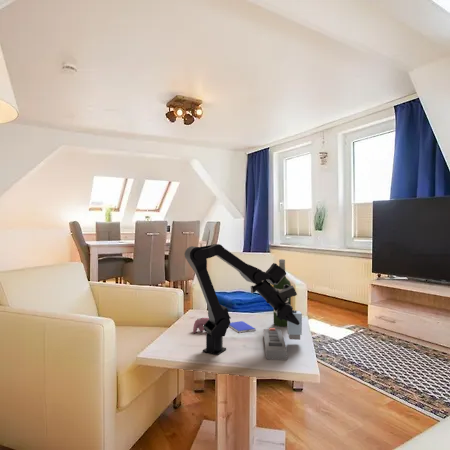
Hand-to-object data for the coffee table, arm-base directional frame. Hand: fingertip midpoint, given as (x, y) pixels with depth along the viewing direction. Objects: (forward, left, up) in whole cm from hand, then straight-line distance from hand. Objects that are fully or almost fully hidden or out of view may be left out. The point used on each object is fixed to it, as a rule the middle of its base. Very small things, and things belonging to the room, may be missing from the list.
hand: (298, 322), depth 129 cm
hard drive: (+8, +29, -9) cm, 31 cm away
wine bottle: (+22, +14, -8) cm, 28 cm away
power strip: (-4, +8, -8) cm, 12 cm away
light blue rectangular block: (-1, +1, -6) cm, 6 cm away
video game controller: (-5, +39, -9) cm, 41 cm away
